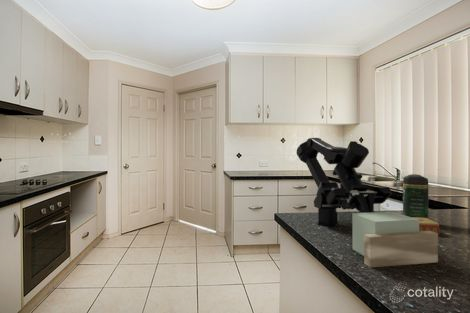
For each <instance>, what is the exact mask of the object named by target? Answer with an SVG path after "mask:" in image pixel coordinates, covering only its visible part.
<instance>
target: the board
mask: <svg viewBox="0 0 470 313" xmlns="http://www.w3.org/2000/svg"><path fill="white" fill-rule="evenodd" d="M438 237H439V235H438V233H435V232H432V231H420V232H402V233H384V234H366V235H364V256H363V257H364V258H363V259H364V261H363V262H364V265H365V266H367V267H368V268H378V267H379V268H380V267H394V266H405V265H419V264H421V265H422V264H431V263H432V264H433V263H438V262H439V253H438V252H439V246H438V245H439V241H438V240H439V238H438Z"/></svg>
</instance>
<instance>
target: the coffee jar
mask: <svg viewBox="0 0 470 313" xmlns="http://www.w3.org/2000/svg"><path fill="white" fill-rule="evenodd" d="M429 196H430V194H429V179H428V178H427V177H425V176H423V175H421V174H415V173H414V174H412V173H411V174H408V175H405V176H404V177H403V179H402V215H405V216H408V217H420V218H428V219H429Z"/></svg>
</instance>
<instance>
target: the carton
mask: <svg viewBox="0 0 470 313" xmlns="http://www.w3.org/2000/svg"><path fill="white" fill-rule="evenodd" d="M412 218H415V219H419V232H420V231H432V232H435V233H438V236H440V224H439V223H438V222H436V221H434V220H432V219H429V217H428V218H420V217H412Z"/></svg>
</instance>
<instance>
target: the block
mask: <svg viewBox="0 0 470 313" xmlns="http://www.w3.org/2000/svg"><path fill="white" fill-rule="evenodd" d="M351 214H352V219H351V220H352V223H351V224H352V250H353V251H355V252H356V253H358V254H360V255H362V256H363V257H364V235H366V234H384V233H402V232H419V219H415V218H412V217H408V216H405V215H403V214H401V213H397V212H394V211H374V212H369V213H360V212H352V213H351Z"/></svg>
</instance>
